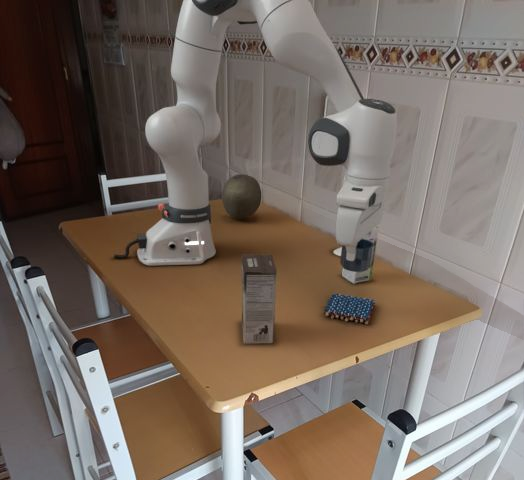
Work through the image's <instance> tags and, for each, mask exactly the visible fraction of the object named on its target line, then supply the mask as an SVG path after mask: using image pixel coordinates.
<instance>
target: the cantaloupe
mask: <svg viewBox="0 0 524 480" xmlns="http://www.w3.org/2000/svg"><path fill="white" fill-rule="evenodd" d="M221 201H222V205H223V208H224V210H225V212H226V214H228V215H229V216H230V217H232V218H233V219H235V220H246V219H247V218H250V217H251V216H253V215H254V214H256V212H257V211H258V209H259V208H260V206H261V202H262V188H261V185H260V183H259V180H257V179H256V178H255V177H254V176H251V175H248V174H243V173H241V174H240V173H239V174H235V175H233V176H231V177H230V178H228V179H227V180H226V182H225V183H224V186H223V189H222V191H221Z"/></svg>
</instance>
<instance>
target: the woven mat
mask: <svg viewBox="0 0 524 480" xmlns="http://www.w3.org/2000/svg"><path fill="white" fill-rule="evenodd" d="M374 301H375V300H374V299H369V298H365V297H364V298H363V297H357V296H354V297H353V296H351V295H347V294H345V295H344V294H339V293H335V294H334V293H333V294H331V297H330V299H328V302H327V305H325V308H324V312H323V315H325V317H329V316H330V318H331V319H334V318H336V319H338V318H339V317H340V320H341V321H342V320H344V321H345V322H348V321H349V320H350V321H354V322H355V323H356V324H357V323H358V322H360V323H364V325H368V324H369V322H370V320H371V319H372V316H373V311H374V310H375V308H374V307H376V302H374ZM344 318H345V319H344Z"/></svg>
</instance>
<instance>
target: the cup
mask: <svg viewBox="0 0 524 480" xmlns="http://www.w3.org/2000/svg"><path fill="white" fill-rule="evenodd" d="M341 247H342V251H341V256H340V261H339V262H340V263H339V264H340V266H341V268H342V269H343V268H344V269H346V270H349V271H353V272H363V271H366V270H368V268H370V267H371V263H372V257H373V251H374V243H373V242H371V241H369V240H366V239H361V240H360V241H359V242H358V243H357V246H356V251H357V255H356V256H357V257H356V259H355V260H354V261H349V260H347V259H346V255H347V251H346V246H342V245H341Z"/></svg>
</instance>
